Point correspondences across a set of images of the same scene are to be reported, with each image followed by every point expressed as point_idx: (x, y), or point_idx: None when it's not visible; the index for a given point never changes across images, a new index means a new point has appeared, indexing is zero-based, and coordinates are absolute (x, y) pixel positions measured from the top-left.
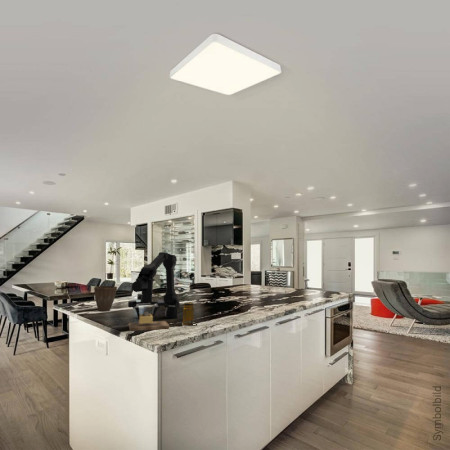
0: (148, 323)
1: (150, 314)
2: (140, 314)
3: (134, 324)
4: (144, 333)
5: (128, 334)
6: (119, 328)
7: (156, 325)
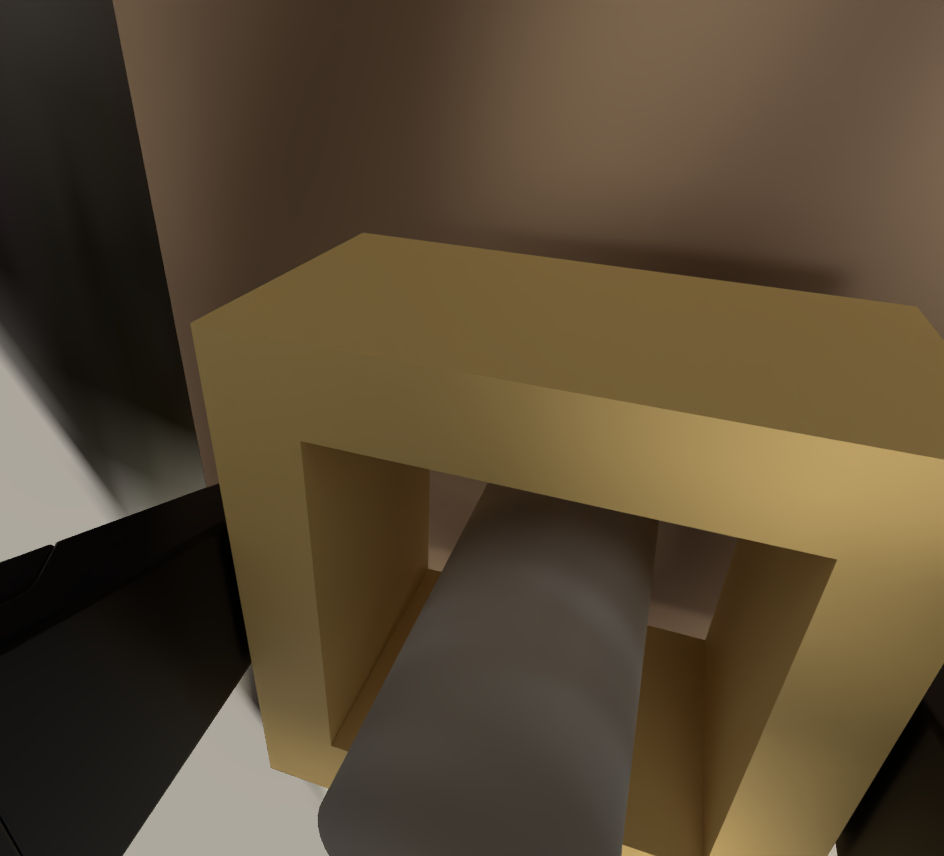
0: (779, 272)
1: (867, 629)
2: (276, 373)
3: (291, 251)
4: None
5: (248, 678)
6: (19, 207)
7: None
